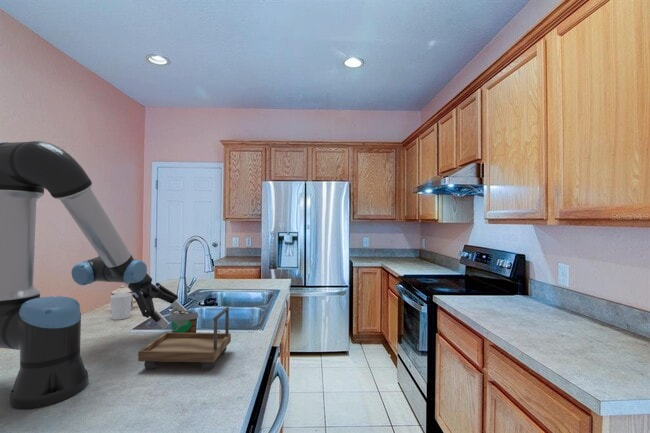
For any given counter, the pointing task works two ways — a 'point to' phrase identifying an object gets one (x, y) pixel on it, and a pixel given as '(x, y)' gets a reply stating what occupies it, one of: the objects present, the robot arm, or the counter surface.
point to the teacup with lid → (124, 290)
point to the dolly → (188, 346)
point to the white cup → (121, 305)
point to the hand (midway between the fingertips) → (176, 320)
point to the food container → (183, 321)
